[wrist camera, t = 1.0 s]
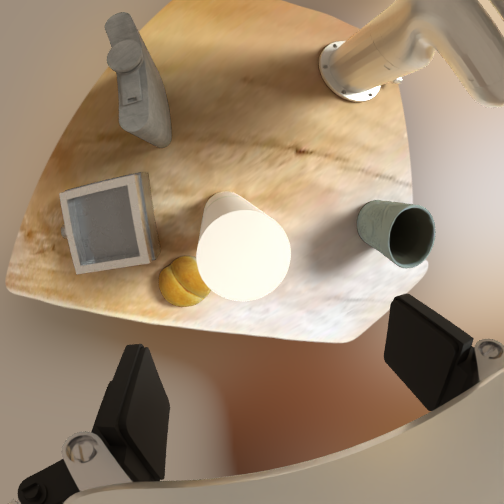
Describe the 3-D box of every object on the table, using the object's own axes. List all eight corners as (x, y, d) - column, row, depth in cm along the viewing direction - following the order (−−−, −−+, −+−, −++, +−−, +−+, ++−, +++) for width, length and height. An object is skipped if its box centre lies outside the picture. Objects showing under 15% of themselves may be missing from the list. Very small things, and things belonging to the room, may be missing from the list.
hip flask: (136, 66, 36) (97, 9, 17) (159, 58, 36) (132, -5, 17) (154, 150, 41) (114, 133, 22) (179, 142, 41) (155, 118, 22)
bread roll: (151, 278, 46) (146, 287, 42) (190, 246, 46) (188, 252, 42) (182, 312, 49) (181, 323, 45) (221, 282, 48) (222, 291, 44)
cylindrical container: (201, 233, 45) (193, 298, 21) (205, 189, 44) (200, 205, 20) (245, 237, 46) (283, 303, 23) (250, 193, 45) (297, 215, 21)
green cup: (403, 222, 50) (443, 235, 39) (372, 259, 51) (408, 281, 40) (375, 185, 47) (416, 190, 36) (341, 224, 48) (377, 240, 37)
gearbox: (148, 172, 41) (136, 172, 34) (160, 250, 45) (152, 264, 38) (64, 192, 40) (42, 196, 32) (79, 264, 43) (60, 278, 36)
